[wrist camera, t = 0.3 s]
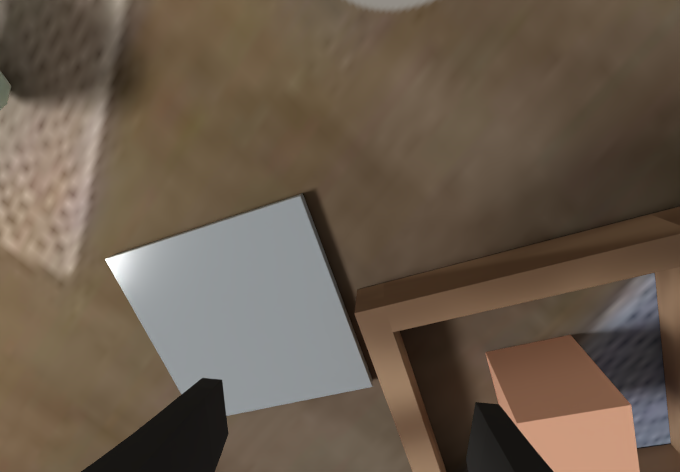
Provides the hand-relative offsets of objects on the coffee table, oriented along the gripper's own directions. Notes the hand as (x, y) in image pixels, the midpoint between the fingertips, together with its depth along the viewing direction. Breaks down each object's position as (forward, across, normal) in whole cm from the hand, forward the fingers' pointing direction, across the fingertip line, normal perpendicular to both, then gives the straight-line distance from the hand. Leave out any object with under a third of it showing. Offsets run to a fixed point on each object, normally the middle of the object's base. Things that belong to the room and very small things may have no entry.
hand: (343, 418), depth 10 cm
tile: (+10, +7, +3) cm, 12 cm away
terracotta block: (+10, -10, +6) cm, 15 cm away
